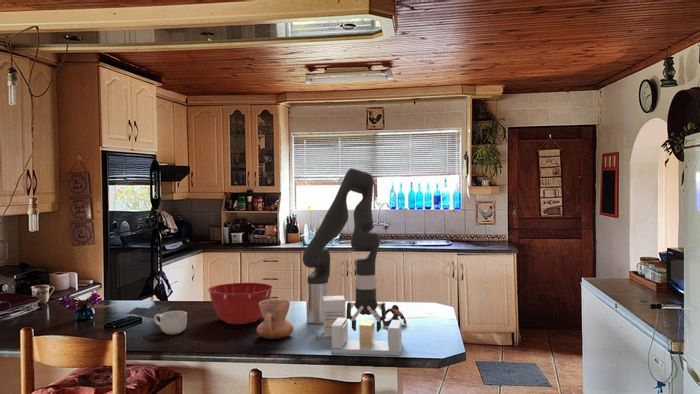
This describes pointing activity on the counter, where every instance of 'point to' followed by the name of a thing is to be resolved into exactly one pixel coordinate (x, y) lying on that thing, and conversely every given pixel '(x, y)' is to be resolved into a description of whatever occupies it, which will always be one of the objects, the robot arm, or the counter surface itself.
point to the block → (366, 334)
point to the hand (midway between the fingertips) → (366, 330)
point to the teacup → (172, 321)
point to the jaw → (337, 333)
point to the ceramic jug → (274, 319)
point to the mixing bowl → (239, 301)
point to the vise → (377, 343)
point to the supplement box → (332, 312)
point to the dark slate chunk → (149, 311)
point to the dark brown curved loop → (394, 315)
